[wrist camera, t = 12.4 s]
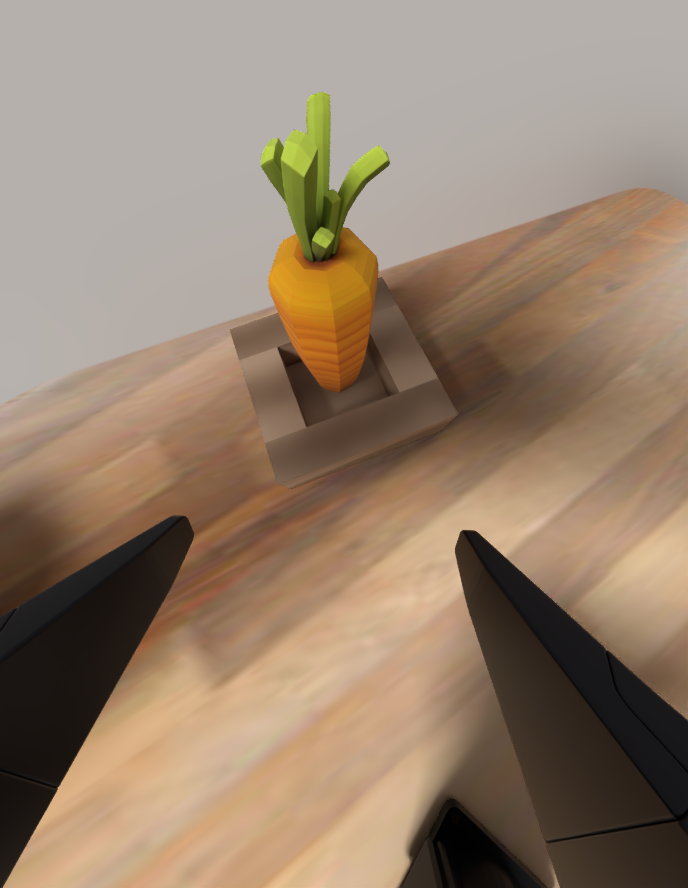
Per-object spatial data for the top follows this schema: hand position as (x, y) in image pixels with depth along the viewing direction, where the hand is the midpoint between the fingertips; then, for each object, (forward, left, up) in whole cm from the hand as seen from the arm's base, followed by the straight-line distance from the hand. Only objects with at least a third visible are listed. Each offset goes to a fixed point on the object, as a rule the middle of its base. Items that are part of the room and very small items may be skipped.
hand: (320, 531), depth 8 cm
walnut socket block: (+7, -9, -11) cm, 15 cm away
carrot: (+6, -8, -10) cm, 15 cm away
